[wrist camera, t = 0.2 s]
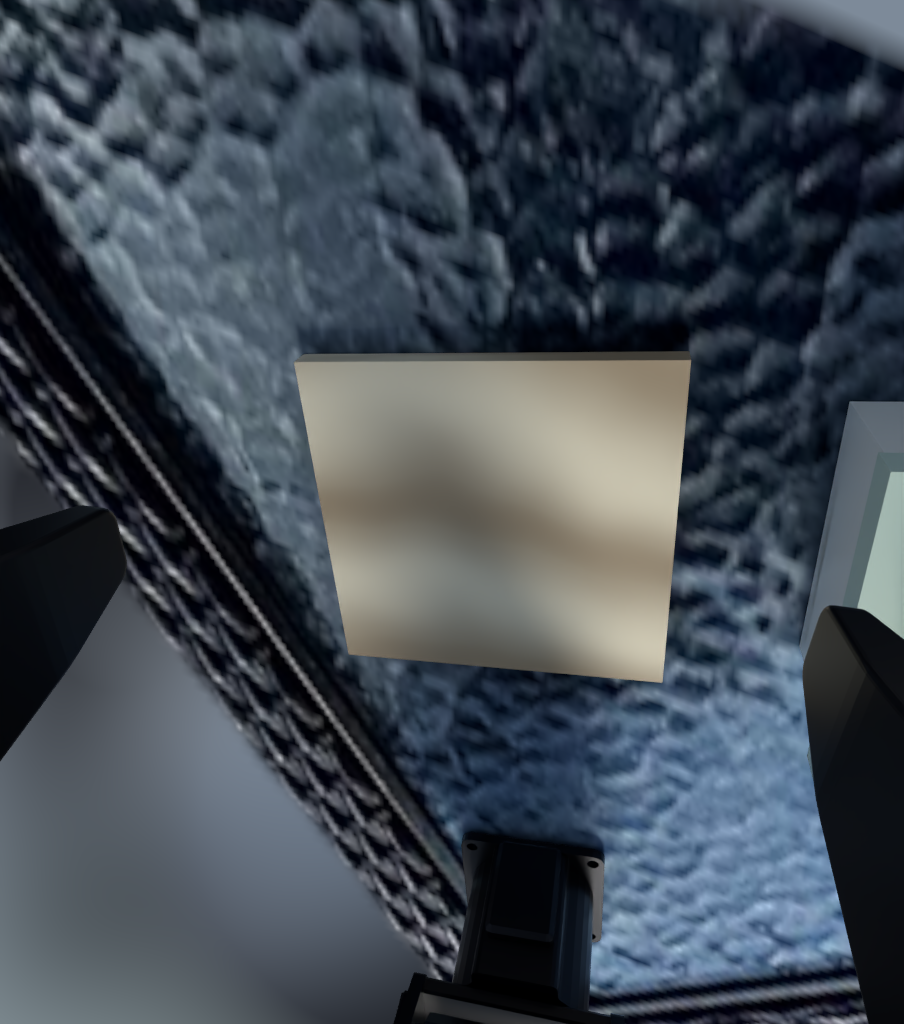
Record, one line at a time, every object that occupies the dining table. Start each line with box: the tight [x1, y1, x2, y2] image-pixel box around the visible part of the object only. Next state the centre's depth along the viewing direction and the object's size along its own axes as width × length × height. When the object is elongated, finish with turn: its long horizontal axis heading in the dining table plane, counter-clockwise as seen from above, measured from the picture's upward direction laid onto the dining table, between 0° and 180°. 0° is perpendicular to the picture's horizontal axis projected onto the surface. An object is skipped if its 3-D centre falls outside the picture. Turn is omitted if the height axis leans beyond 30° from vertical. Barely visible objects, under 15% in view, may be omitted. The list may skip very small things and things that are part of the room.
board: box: [294, 351, 691, 683], centre depth 25 cm, size 12×12×1 cm
